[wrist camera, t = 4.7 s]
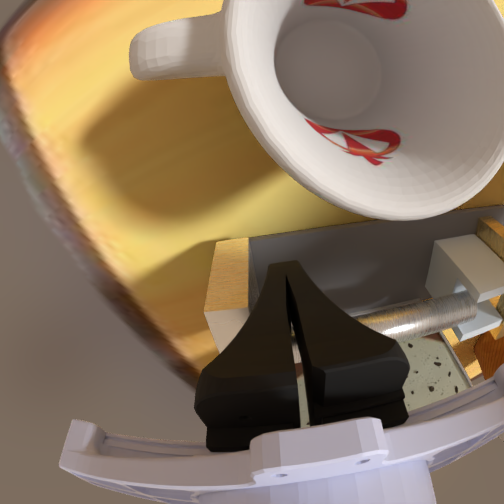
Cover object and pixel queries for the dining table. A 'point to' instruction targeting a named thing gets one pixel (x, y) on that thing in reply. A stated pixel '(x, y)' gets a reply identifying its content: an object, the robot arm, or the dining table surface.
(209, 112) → the dining table surface
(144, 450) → the robot arm
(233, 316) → the shaft
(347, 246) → the mat
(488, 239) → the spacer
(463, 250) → the bearing block
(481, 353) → the disposable coffee cup
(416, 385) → the food container
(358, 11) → the cup
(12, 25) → the dining table surface
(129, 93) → the dining table surface
